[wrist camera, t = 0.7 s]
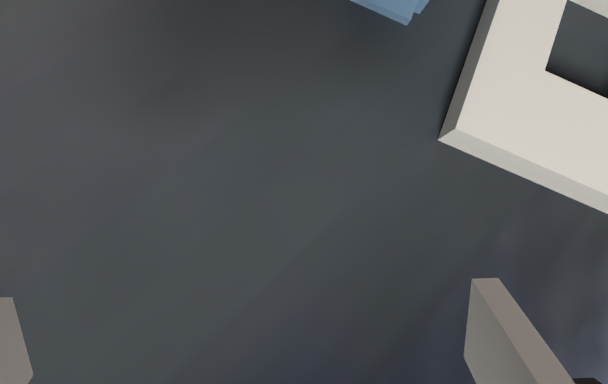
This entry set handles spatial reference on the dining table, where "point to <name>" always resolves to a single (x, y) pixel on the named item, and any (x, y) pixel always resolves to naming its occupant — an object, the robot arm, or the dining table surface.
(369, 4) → the servo
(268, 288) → the dining table surface
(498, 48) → the frame
